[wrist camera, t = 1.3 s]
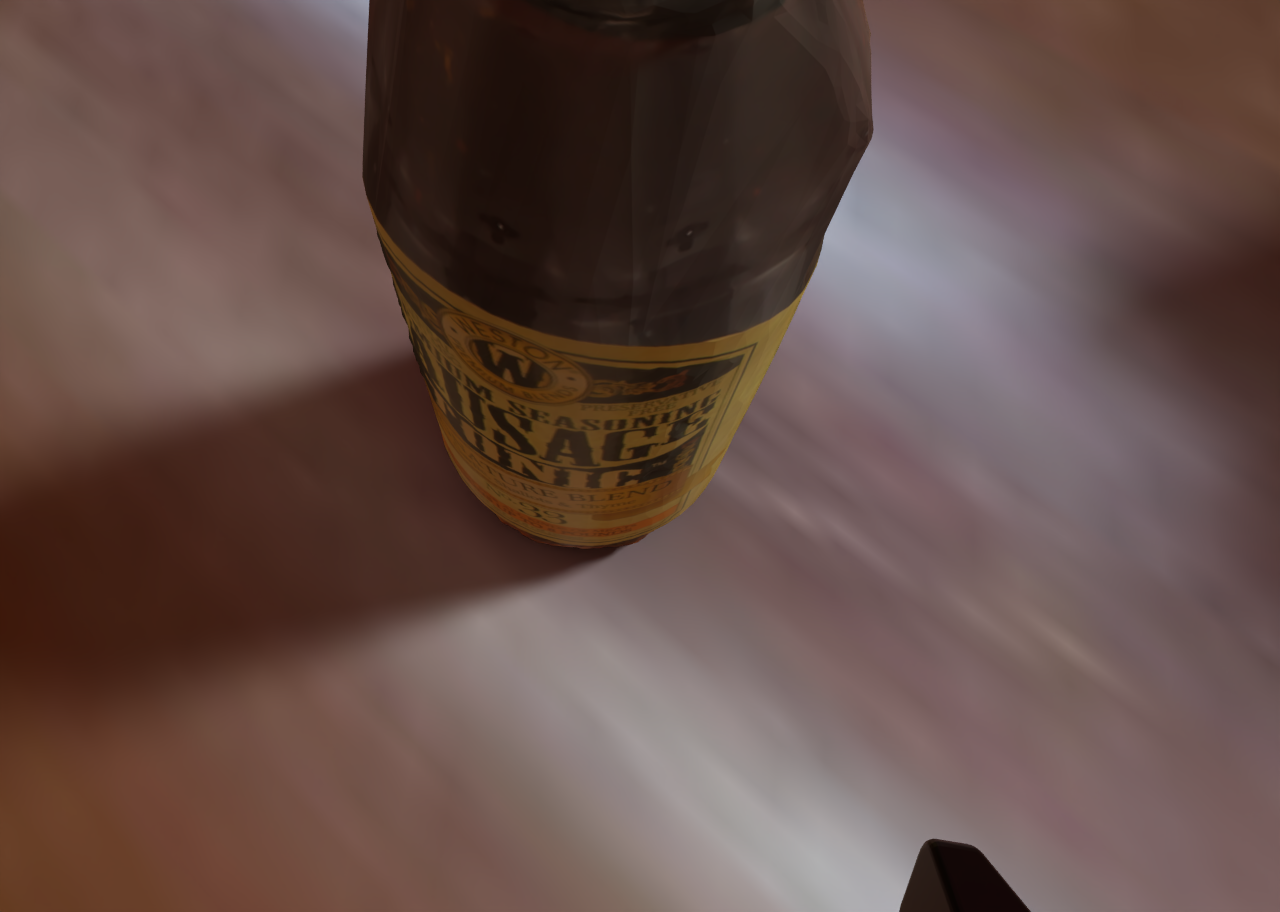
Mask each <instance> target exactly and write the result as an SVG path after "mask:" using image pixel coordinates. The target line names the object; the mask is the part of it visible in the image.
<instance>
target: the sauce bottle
mask: <svg viewBox="0 0 1280 912" xmlns="http://www.w3.org/2000/svg"><path fill="white" fill-rule="evenodd" d="M870 36H871V33H870V29H869V25H868V22H867V18H866V14H865V9H864V4H863V0H370V1H369V23H368V45H367V67H366V91H365V117H364V143H363V182H364V186H365V191H366V195H367V199H368V202H369V205H370V209H371V212H372V215H373V219H374V222H375V225H376V228H377V236H378V238H379V240H380V244H381V247H382V251H383V254H384V257H385V260H386V263H387V265H388V267H389V269H390V271H391V274H392V279H393V285H394V288H395V291H396V294H397V297H398V302H399V305H400V307H401V311H402V315H403V317H404V319H405V321H406V323H407V325H408V328H409V339H410V341H411V343H412V345H413V352H414V354H415V358H416V360H417V362H418V364H419V366H420V372H421V374H422V376H423V377H424V380H425V383H426V386H427V389H428V392H429V395H430V398H431V402H432V405H433V408H434V412H435V415H436V417H437V420H438V423H439V426H440V429H441V433H442V437H443V441H444V445H445V448H446V450H447V452H448V454H449V456H450V459H451V461H452V462H453V464H454V466H455V468H456V469H457V471H458V473H459V475H460V477H461V478H462V480H463V481H464V482H465V484H466V485H467V486H468V487H469V489H470V490H471V491H472V492H473V493H474V494H475V496H476V497H477V498H478V499H479V500H480V501H481V502H482V503H483V504H484V505H485V506H487V507H488V508H489V509H490V510H491V511H493V512H494V513H495V514H496V515H497V517H498V518H499V519H500V520H501V522H502V523H504V524H507V525H509V526H510V527H512V528H514V529H516V530H518V531H519V532H520V533H521V534H523V535H524V536H526V537H529V538H530V539H532V540H533V541H535V542H538V543H547V544H549V545H551V546H554V545H557V546H564V547H578V548H580V549H587V548H602V547H620V546H625V545H630V544H633V543H637V542H639V541H640V540H641V539H643V538H644V537H645V536H646V535H647V534H648V533H650V532H652V531H654V530H656V529H658V528H659V527H661V526H663V525H665V524H667V523H669V522H670V521H672V520H673V519H675V518H676V517H678V516H679V515H681V514H682V513H683V512H684V511H685V510H686V509H687V508H688V507H690V506H691V505H692V504H693V503H694V502H695V501H696V499H697V498H698V497H699V496H700V494H701V493H702V492H703V491H704V490H705V488H706V486H707V485H708V483H709V482H710V480H711V479H712V477H713V476H714V474H715V472H716V470H717V468H718V466H719V464H720V463H721V461H722V459H723V457H724V455H725V453H726V451H727V449H728V447H729V445H730V443H731V440H732V438H733V436H734V434H735V432H736V430H737V429H738V427H739V425H740V423H741V421H742V419H743V417H744V415H745V413H746V411H747V409H748V407H749V405H750V403H751V402H752V400H753V398H754V396H755V394H756V392H757V390H758V388H759V386H760V384H761V382H762V380H763V378H764V376H765V374H766V372H767V370H768V368H769V366H770V364H771V362H772V360H773V358H774V356H775V354H776V352H777V350H778V348H779V345H780V343H781V341H782V339H783V337H784V335H785V333H786V331H787V328H788V326H789V324H790V322H791V320H792V318H793V316H794V314H795V311H796V309H797V307H798V304H799V302H800V300H801V297H802V295H803V293H804V291H805V289H806V287H807V285H808V283H809V281H810V278H811V276H812V274H813V272H814V270H815V268H816V266H817V263H818V259H819V256H820V252H821V249H822V244H823V239H824V235H825V232H826V230H827V228H828V226H829V224H830V221H831V219H832V217H833V215H834V213H835V211H836V209H837V207H838V205H839V202H840V200H841V198H842V196H843V194H844V192H845V190H846V188H847V185H848V183H849V181H850V179H851V177H852V175H853V173H854V171H855V169H856V167H857V165H858V163H859V161H860V160H861V158H862V156H863V154H864V152H865V150H866V148H867V146H868V144H869V142H870V141H871V138H872V134H873V120H872V99H871V49H870Z"/></svg>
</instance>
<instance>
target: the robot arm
mask: <svg viewBox="0 0 1280 912" xmlns="http://www.w3.org/2000/svg"><path fill="white" fill-rule="evenodd" d="M899 912H1031V911H1030V910H1029V909H1028V908H1027V906H1026V905H1025V904H1024V903H1023V902H1022V900H1021V899H1020V898H1019V897H1018V896H1017V894H1016V893H1015V892H1014V891H1013V890H1012V888H1011V887H1010V886H1009V885H1008V883H1007V882H1006V881H1005V880H1004V879H1003V877H1002V876H1001V875H1000V874H999V873H998V871H997V870H996V869H995V868H994V866H993V865H992V864H991V863H990V862H989V860H988V859H987V858H986V857H985V856H984V854H983V853H982V852H981V851H980V850H978V849H977V848H976V847H974V846H972V845H969V844H964V843H958V842H952V841H946V840H940V839H930V840H928V841H926V842H925V843H924V845H923V846H922V847H921V849H920V852H919V854H918V857H917V860H916V863H915V866H914V869H913V872H912V874H911V877H910V880H909V883H908V886H907V889H906V892H905V895H904V897H903V900H902V903H901V907H900V911H899Z"/></svg>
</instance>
